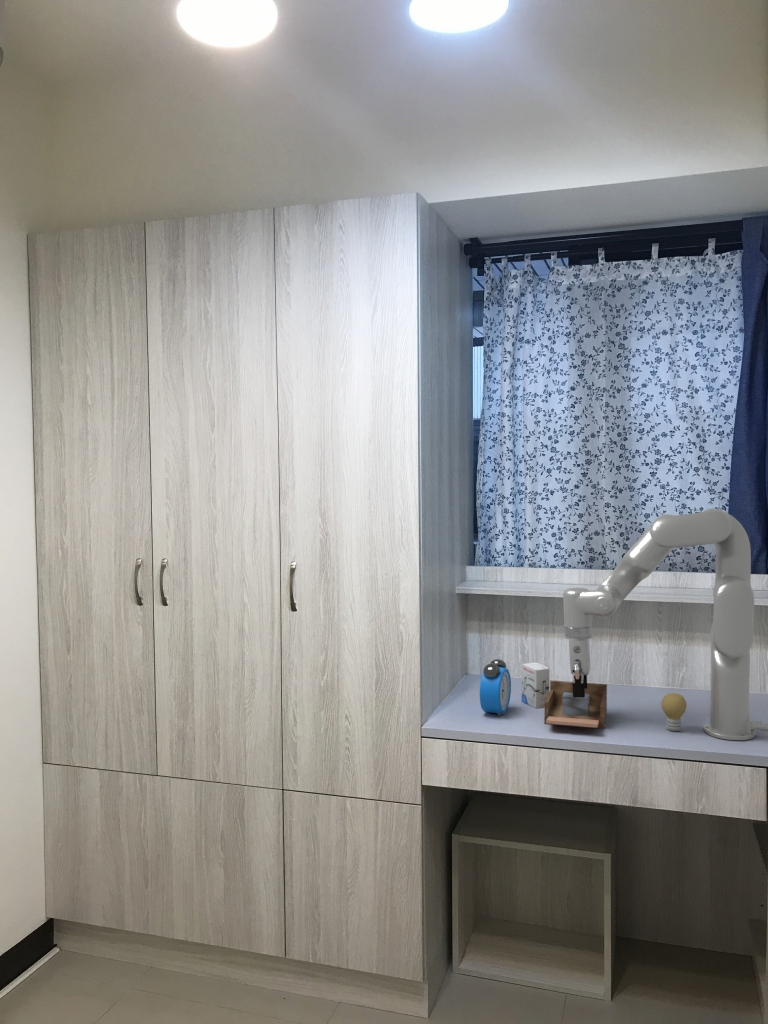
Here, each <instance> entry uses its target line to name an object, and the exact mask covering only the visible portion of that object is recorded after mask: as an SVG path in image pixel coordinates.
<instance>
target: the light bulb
mask: <svg viewBox="0 0 768 1024" xmlns="http://www.w3.org/2000/svg"><path fill="white" fill-rule="evenodd" d="M660 703H661V709H662V711H663V712H664V714H665V715H666V725H665V727H666V729H667V730H668V731H670V732H679V731H681V729H682V719H681V718H682V716H684V714H685V713H686V710H687V702H686V698H685V697H684V696H683V695H681V694H679V693H676V692H671V693H667V694H665V695H664V697H662V700H661V702H660Z"/></svg>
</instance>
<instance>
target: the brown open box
mask: <svg viewBox="0 0 768 1024" xmlns="http://www.w3.org/2000/svg"><path fill="white" fill-rule="evenodd" d="M572 683H573V681H564V680H563V681H561V680H549V694H548V696H547V698H546V700H545V707H544V717H543V718H544V719H543V721H544V725H550V724H549V723H546V720H547V718H548V717H549V716H551V717H563V718H576V719H588V720H599V724H598V727H587V728H588V729H589V728H591V729H602V730H604V729H605V725H606V719H607V714H608V704H607V703H608V684H607V683H596V682H595V683H594V682H587V689H585V694H590V696H589V715H588V716H577V715H564V714H563V699H562V696H563V694H564V692H567V693H573V685H572ZM553 725H554V726H562V725H561V724H553ZM563 726H567V727H574V726H573V725H563ZM577 728H586V727H585V726H577Z"/></svg>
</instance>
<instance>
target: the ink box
mask: <svg viewBox="0 0 768 1024" xmlns="http://www.w3.org/2000/svg"><path fill="white" fill-rule="evenodd" d="M521 665H522V667H521V670H522V671H521V674H522V675H521V702H522V703H525V704H526V705H529V706H530V707H531V708H534V709H541V708H545V700H546V698H547V696H548V694H549V691H550V668H549V667H547V666H545V665H544V664H542V663H539V662H527V663H522V664H521Z"/></svg>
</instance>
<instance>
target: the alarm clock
mask: <svg viewBox="0 0 768 1024" xmlns="http://www.w3.org/2000/svg"><path fill="white" fill-rule="evenodd" d="M511 679H512V678H511V674H510V670H509V669H508V668H507V664H506V662H505V661H504V660H502V659H500V658H496V659H493V660H491V661H490V663H488V664H486V665H485V666H484V667H483V670H482V674H481V678H480V683H479V704H480V707H481V710H482V712H484V713H492V714H498V717H499V716H501V714H502V715H504V714H505V713H506V712H507V710H508V708H509V705H510V701H511V693H512V683H511V681H512V680H511Z"/></svg>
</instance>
